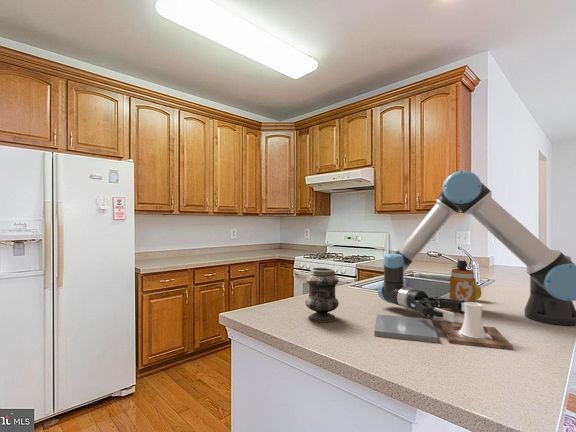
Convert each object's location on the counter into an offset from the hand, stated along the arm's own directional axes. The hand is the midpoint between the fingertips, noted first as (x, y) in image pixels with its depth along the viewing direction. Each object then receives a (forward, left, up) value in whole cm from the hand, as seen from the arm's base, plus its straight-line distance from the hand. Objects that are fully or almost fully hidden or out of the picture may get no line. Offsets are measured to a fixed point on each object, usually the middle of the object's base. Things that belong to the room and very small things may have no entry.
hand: (468, 314), depth 99 cm
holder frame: (-1, +1, -6) cm, 6 cm away
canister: (-4, -30, -7) cm, 31 cm away
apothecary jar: (+47, -2, -7) cm, 47 cm away
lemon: (-12, -47, -7) cm, 49 cm away
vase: (-1, +1, -7) cm, 7 cm away
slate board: (+19, +1, -6) cm, 20 cm away
